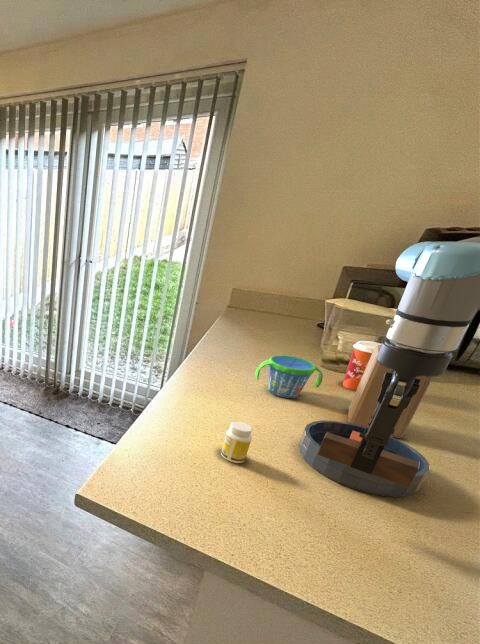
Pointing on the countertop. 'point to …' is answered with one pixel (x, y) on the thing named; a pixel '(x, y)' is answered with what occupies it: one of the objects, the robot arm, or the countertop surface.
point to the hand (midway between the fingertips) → (361, 465)
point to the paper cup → (358, 363)
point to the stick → (385, 467)
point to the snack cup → (288, 375)
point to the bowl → (352, 476)
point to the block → (369, 393)
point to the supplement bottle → (237, 442)
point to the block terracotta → (355, 436)
